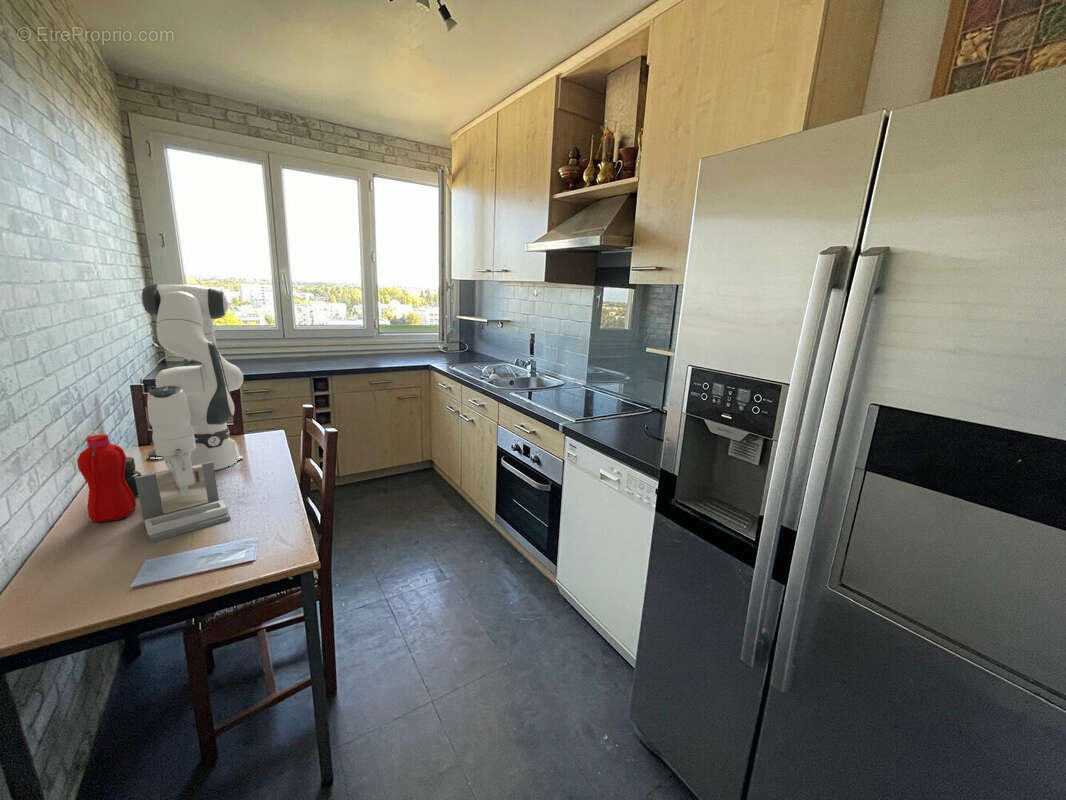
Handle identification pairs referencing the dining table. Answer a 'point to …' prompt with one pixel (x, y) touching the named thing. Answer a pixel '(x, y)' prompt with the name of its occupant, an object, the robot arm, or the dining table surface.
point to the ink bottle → (131, 475)
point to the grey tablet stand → (183, 519)
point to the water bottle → (105, 480)
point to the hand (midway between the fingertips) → (183, 491)
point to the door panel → (171, 492)
